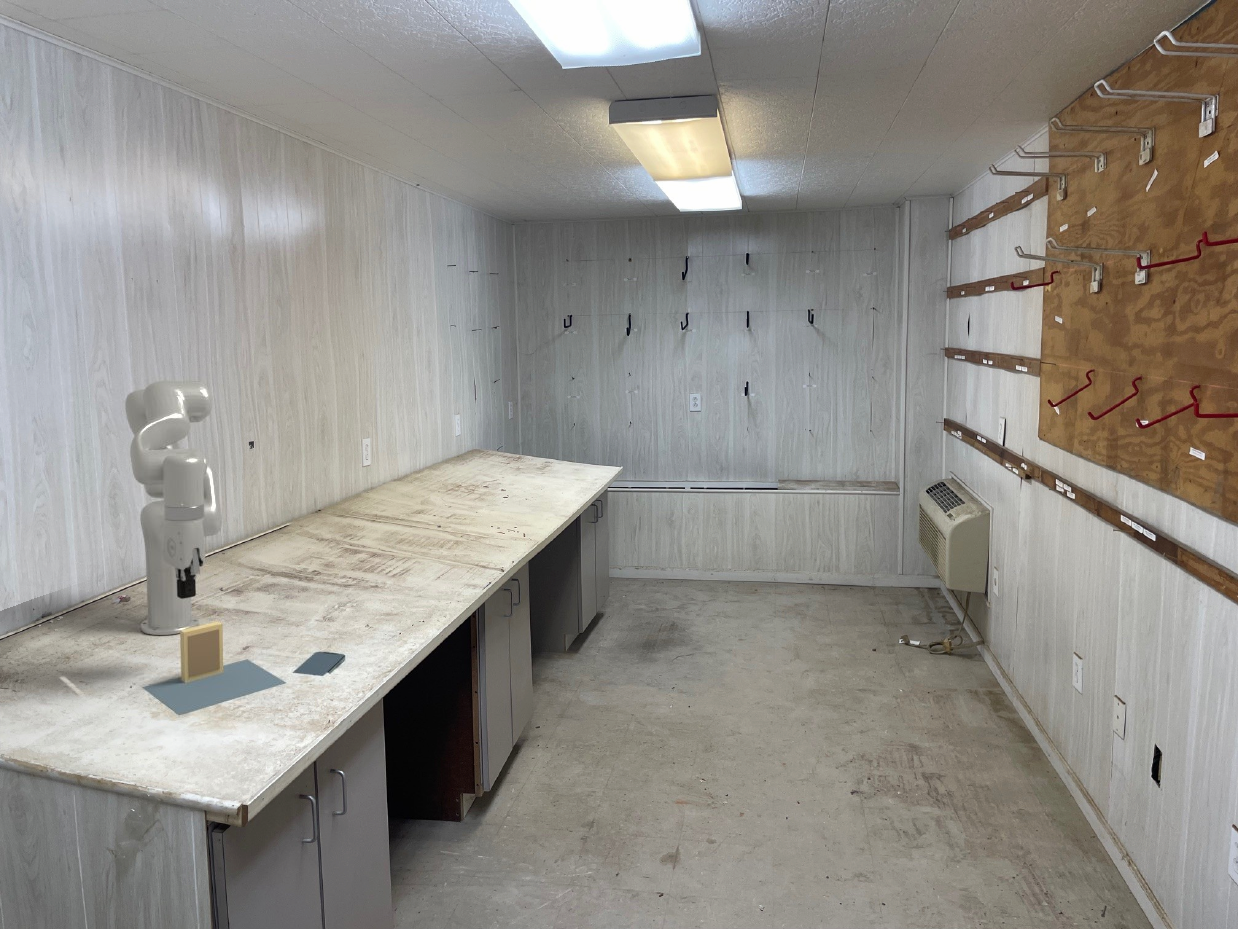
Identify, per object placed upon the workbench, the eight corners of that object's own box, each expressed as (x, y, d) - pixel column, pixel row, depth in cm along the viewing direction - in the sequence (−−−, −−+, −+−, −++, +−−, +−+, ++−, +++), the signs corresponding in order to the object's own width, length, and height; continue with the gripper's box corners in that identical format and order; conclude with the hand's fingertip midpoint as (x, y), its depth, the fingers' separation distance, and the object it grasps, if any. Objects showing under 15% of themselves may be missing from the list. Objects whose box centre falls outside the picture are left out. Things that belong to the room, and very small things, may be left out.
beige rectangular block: (181, 680, 178) (180, 630, 176) (219, 669, 184) (218, 621, 182) (185, 683, 177) (184, 632, 175) (223, 672, 183) (222, 623, 181)
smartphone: (283, 678, 182) (315, 650, 197) (283, 686, 182) (315, 657, 197) (317, 682, 181) (347, 653, 196) (317, 689, 181) (347, 660, 196)
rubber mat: (142, 691, 174) (142, 687, 174) (247, 662, 191) (247, 659, 190) (179, 719, 163) (179, 715, 163) (286, 686, 180) (286, 682, 180)
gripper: (150, 509, 181) (153, 592, 184) (181, 521, 172) (184, 608, 174) (186, 505, 187) (188, 586, 189) (218, 516, 177) (220, 601, 180)
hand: (186, 596), depth 182 cm, fingers closed
